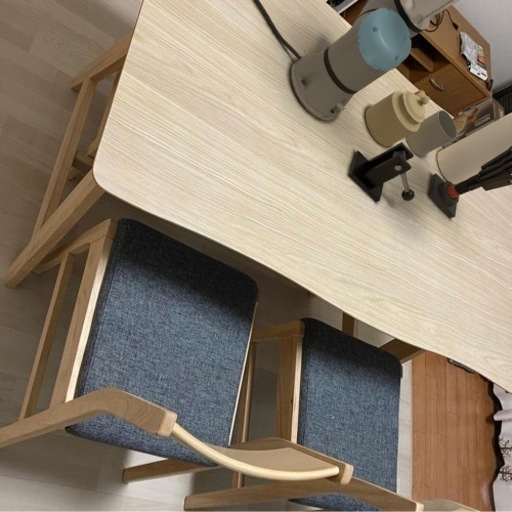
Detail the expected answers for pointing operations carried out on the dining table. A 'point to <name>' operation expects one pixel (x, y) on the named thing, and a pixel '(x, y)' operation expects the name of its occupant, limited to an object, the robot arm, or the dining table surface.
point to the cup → (433, 133)
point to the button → (452, 191)
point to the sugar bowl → (396, 116)
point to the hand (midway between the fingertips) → (457, 189)
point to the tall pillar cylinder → (475, 150)
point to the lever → (405, 181)
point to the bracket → (379, 169)
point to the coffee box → (476, 119)
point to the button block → (442, 195)
